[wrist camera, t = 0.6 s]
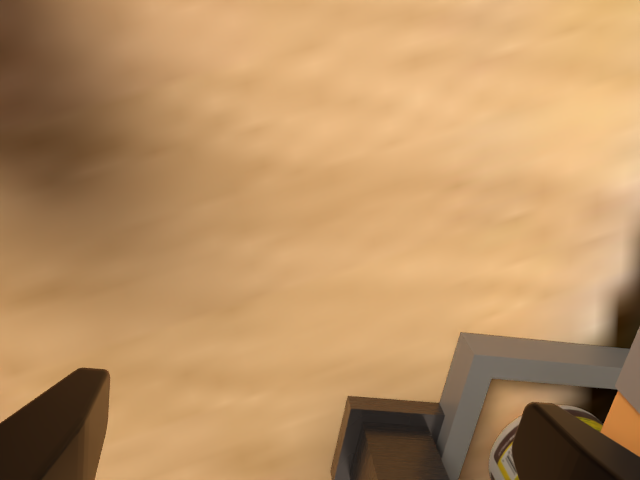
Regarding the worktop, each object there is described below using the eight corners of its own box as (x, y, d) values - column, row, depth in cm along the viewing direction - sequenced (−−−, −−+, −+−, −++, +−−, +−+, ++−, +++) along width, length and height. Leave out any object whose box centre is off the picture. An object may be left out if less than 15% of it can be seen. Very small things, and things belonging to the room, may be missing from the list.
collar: (610, 541, 30) (629, 570, 28) (400, 533, 28) (408, 563, 27) (699, 355, 26) (725, 377, 24) (460, 332, 24) (474, 354, 23)
